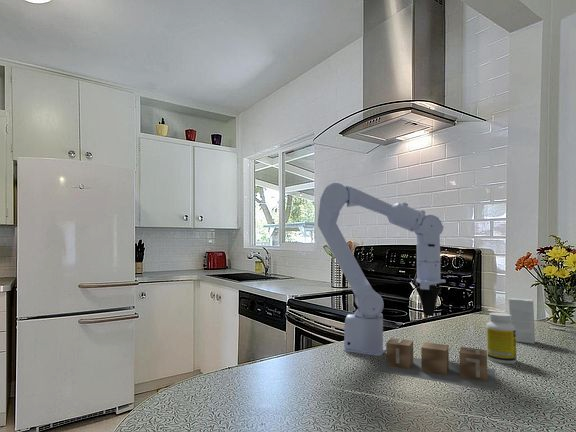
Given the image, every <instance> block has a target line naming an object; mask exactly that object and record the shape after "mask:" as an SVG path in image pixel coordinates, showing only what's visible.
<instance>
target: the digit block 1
mask: <svg viewBox="0 0 576 432" xmlns="http://www.w3.org/2000/svg"><path fill="white" fill-rule="evenodd" d="M385 343H386V346H385V347H386V351H385V353H386V357H385V358H386V366H392V367H398V368H404V369H410V368H411V366H412V365H413V357H414V340H409V339H403V338H395V337H390V338H389V340H388V341H386V342H385Z"/></svg>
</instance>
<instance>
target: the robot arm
mask: <svg viewBox="0 0 576 432" xmlns="http://www.w3.org/2000/svg"><path fill="white" fill-rule="evenodd" d="M345 204H346V207H347V208H350V207H356V206H357V207H360V208H364V209H366V210H369V211H371V212H372V211H373V212H375V213H377V214H380V215H383V216H385V217H386V218H387V220H388V222H389V223H390V224H392V225H394V226H397V227H399V228H402V229H404V230H407V231H409V232H412V233H414V234H415V235H416V278H415V282H417V283H418V284H419V286H416V287H415V290H416V292H417V294H418V296H419V299H420V302H421V307H422V311H423V315H424V316H427V317H434V315H435V311H436V306H437V305H436V304H437V300H438V297H439V294H440V292H441V290H442V287H441V286H435V285H438V284H443V283H444V284H445V283H446V282H447V281H446V279H442V277H441V243H440V242H441V240H440V237H441V234H442V233H443V231H444V225H443V223H442V220H440V218H439V217H438V216H436V215H434V214H427V215H426V211H425V210H423V209H422V210H418V209H415V208H413V207H411V206H409V204H408V203H407V202H402V203H400V202H395V203H394V204H390V203H388V202H387V201H384V200H382V199H379V198H377V197H375V196H373V195H371V194H368V193H366V192H364V191H362V190H359V189H357V188H354V187H352V186H348V185H346V186H345V185H344V184H343V183H340V182H339V183H338V182H333V183H330V184H328V185H326V187H325V188H324V190H323V193H322V195H321V197H320V201H319V209H318V217H317V227H318V228H319V230H320V232H321V234H322V236H323V238H324V239H325V242H326V244H327V245H328V247H329V249H330V251H331V253H332V255H333V256H334V258H335V260H336V263H337V264H338V265H339V268H340V270H341V271H342V273H343V275H344V277H345V278H346V280H347V282H348V284H349V287H350V288H351V290H352V293H353V295H354V303H355V305H356V307H357V309H356V310H355V311H354V313H352V314H351V313H349V314H347V315H346V317H345V320H344V328H343V330H344V331H343V332H344V333H343V334H344V338H343V339H344V341H343V342H344V343H343V347H344V348H343V352H349V353H356V354H362V355H369V356H376V357H381V356H382V355H383V354H384V353H386V346H384V316H383V313H382V312H383V310H384V306H385V305H384V304H385V303H384V298H383V297H382V296H381V295H380V294H379V293H378V292H376V290H374V289H373V287H372V285H371V284H370V282H369V281H368V278H366V276H365V274H364V272H363V270H362V268H361V266H360V265H359V262H358V261H357V259H356V257H355V255H354V253H353V251H352V250H351V248H350V247H349V244H348V243H347V240H346V239H345V237H344V236H343V233H342V232H341V230H340V228H339V226H338V224H337V222H338V218H339V215H340V212H341V211H342V209H343V207H344V206H345Z"/></svg>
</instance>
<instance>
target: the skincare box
mask: <svg viewBox="0 0 576 432" xmlns="http://www.w3.org/2000/svg"><path fill="white" fill-rule="evenodd" d="M508 305H509V314H510V315H511V316H512V320H511V324H512V325H514V327H515V330H516V343H525V344H533V345H534V344H535V343H536V336H535V335H536V333H535V330H536V329H535V315H534V314H535V312H534V311H535V310H534V299H530V298H520V297H519V298H516V297H509V299H508Z"/></svg>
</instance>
